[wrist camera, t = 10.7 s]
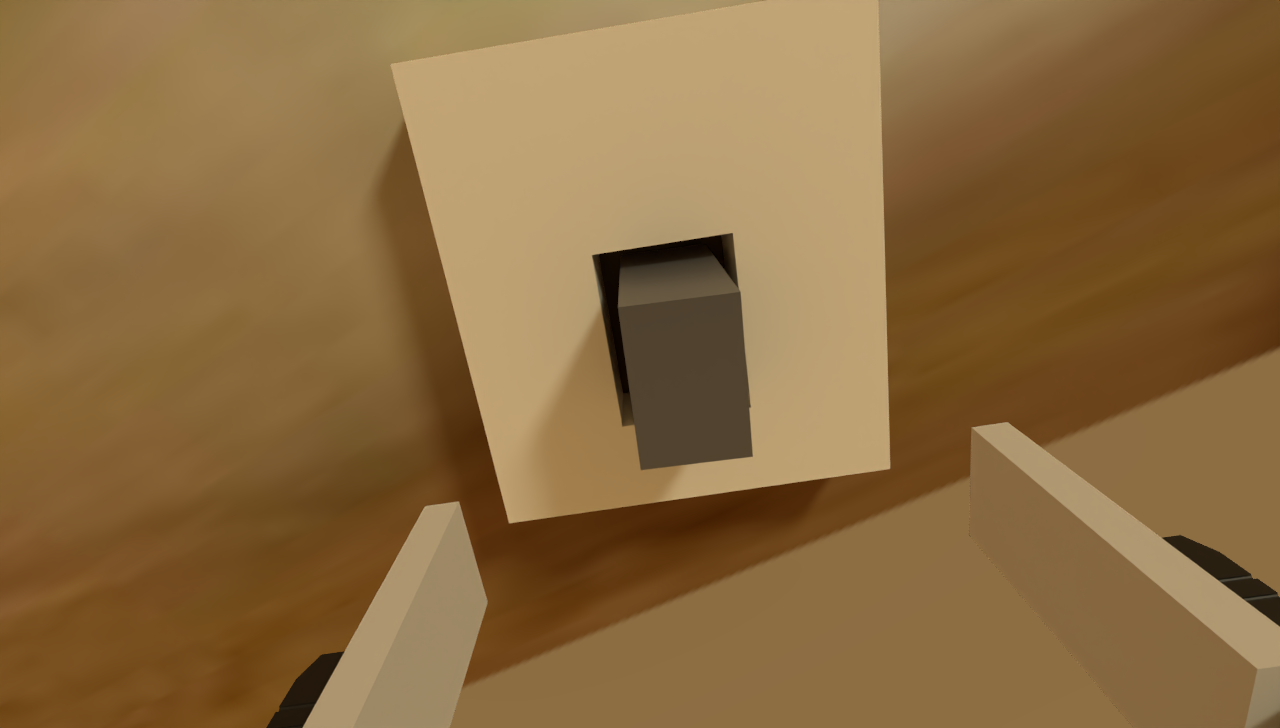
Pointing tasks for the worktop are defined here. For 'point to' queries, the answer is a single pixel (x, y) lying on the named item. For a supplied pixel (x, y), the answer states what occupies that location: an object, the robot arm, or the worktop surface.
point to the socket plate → (663, 235)
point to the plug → (684, 357)
